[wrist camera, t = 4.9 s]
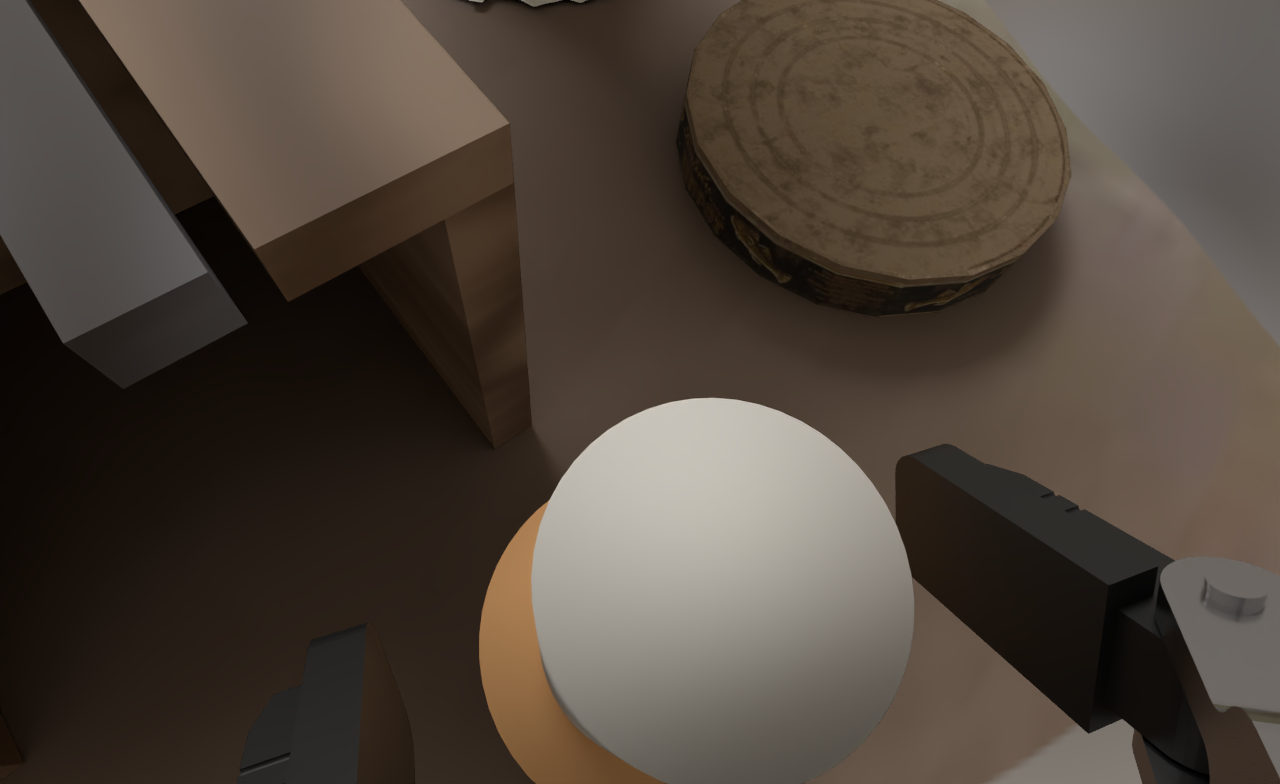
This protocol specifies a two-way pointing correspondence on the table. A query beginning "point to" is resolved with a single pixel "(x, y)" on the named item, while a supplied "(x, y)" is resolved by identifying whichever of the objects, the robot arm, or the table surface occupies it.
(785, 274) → the wood slice
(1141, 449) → the table surface
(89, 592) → the table surface
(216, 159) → the wooden slotted block
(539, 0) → the decorative vase
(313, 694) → the robot arm
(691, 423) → the cylinder with orange collar
